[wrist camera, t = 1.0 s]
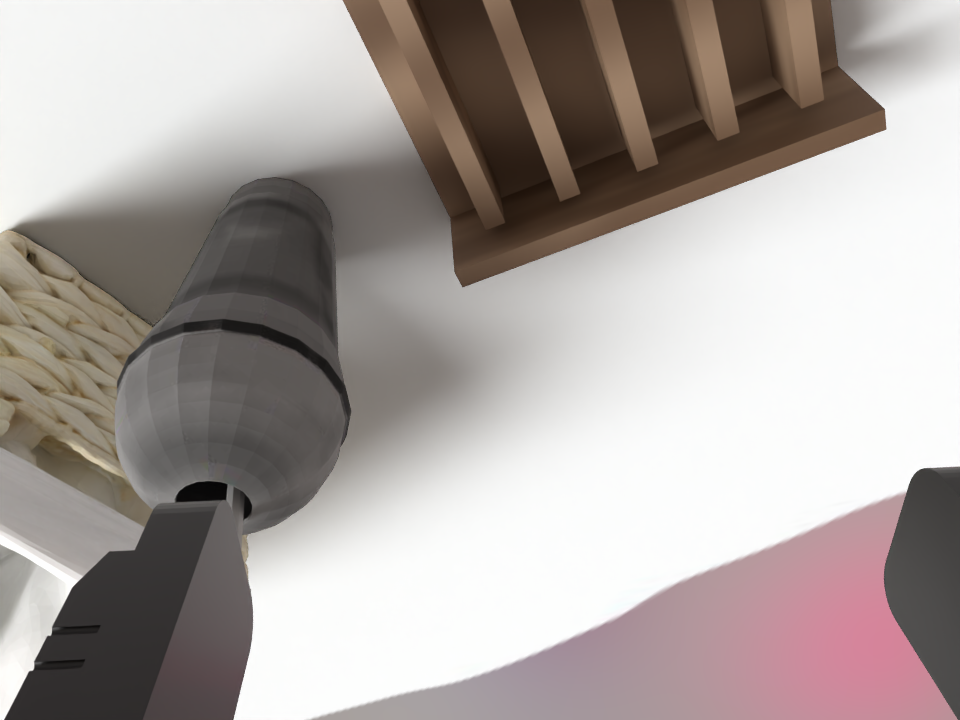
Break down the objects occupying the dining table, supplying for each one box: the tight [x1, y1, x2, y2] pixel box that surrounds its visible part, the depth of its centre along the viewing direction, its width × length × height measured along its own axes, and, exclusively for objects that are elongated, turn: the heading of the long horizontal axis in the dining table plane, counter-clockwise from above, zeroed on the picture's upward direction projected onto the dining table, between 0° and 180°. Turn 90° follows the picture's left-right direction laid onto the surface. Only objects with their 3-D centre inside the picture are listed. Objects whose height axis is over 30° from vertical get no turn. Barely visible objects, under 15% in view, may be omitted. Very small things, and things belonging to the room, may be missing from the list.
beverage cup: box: [114, 178, 351, 549], centre depth 28 cm, size 7×7×20 cm
